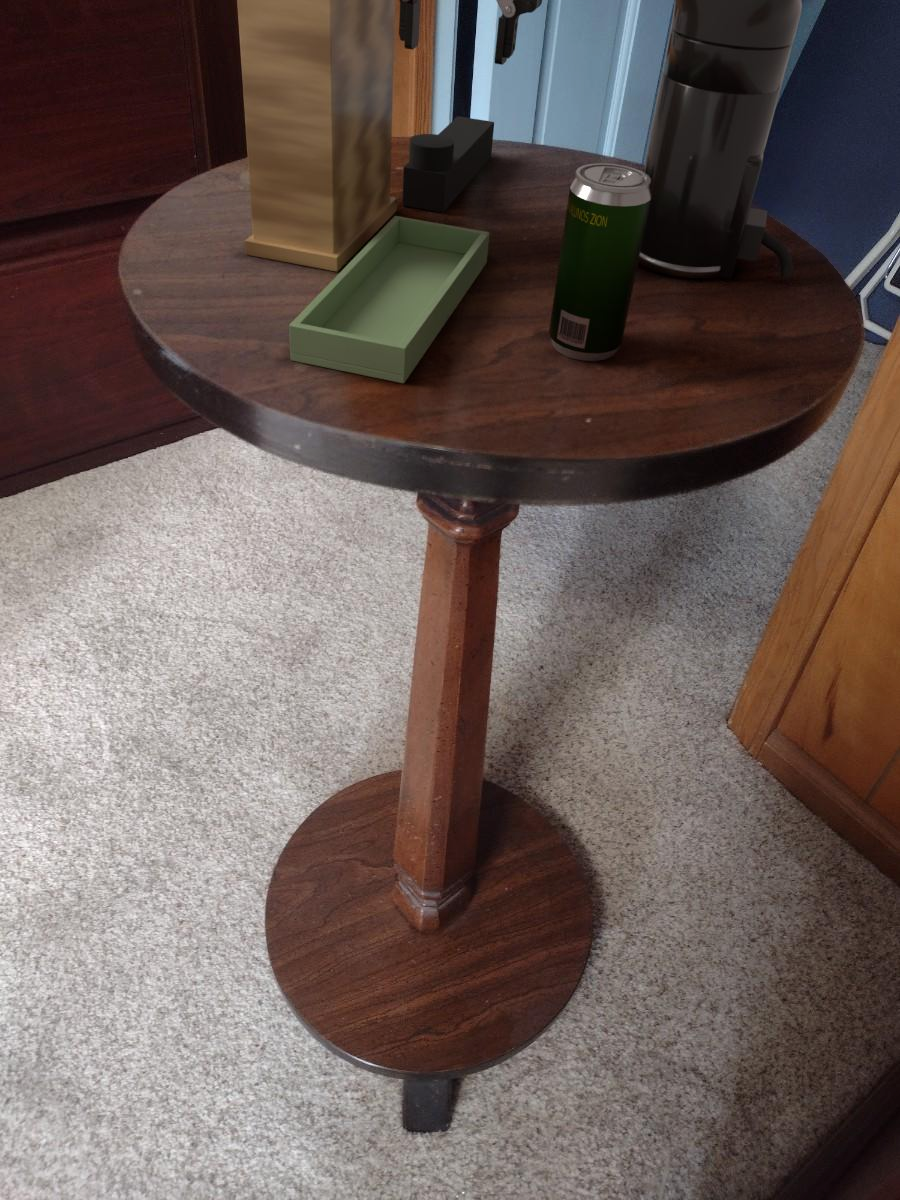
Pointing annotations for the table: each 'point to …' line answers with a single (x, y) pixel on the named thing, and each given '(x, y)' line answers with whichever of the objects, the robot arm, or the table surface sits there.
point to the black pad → (459, 174)
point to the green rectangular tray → (390, 300)
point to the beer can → (598, 260)
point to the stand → (317, 125)
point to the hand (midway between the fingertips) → (455, 55)
